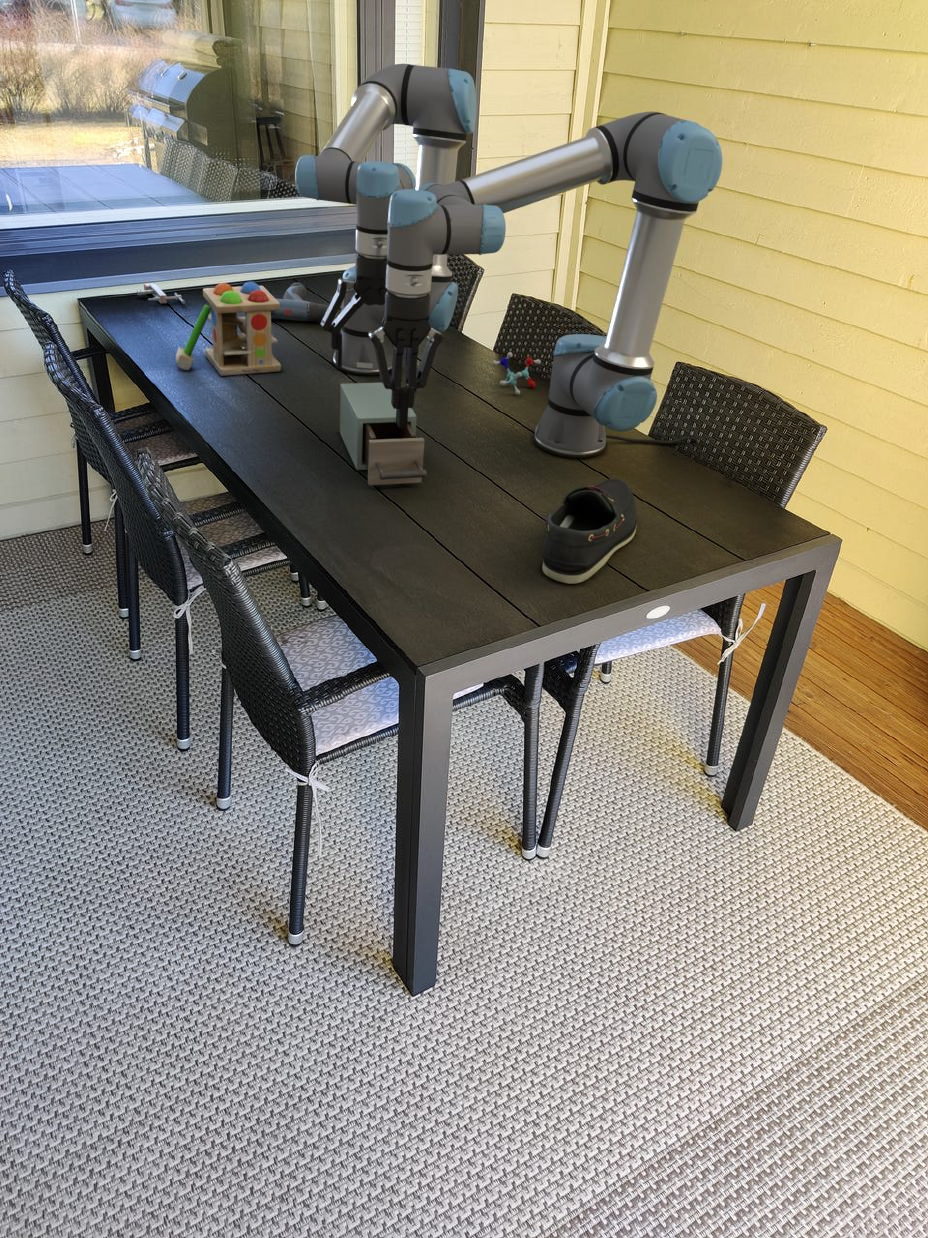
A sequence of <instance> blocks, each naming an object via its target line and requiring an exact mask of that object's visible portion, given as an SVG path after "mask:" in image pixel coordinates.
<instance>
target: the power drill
mask: <svg viewBox="0 0 928 1238" xmlns="http://www.w3.org/2000/svg"><path fill="white" fill-rule="evenodd" d="M307 295H308V290H307V287H306V285H304V284H303V283H301V282H293V283H292V284H291V285H290V286H289V287H288V288H287V289H286V291H285V292H284V294H283V297H282V298H275V299H276V300H277V301H278V302H279V303H280V310H271V319H274V320H275V319H276V320H283V321H294V322H295V321H297V322H321V321H322V319H323V317H324V315H325V313H326V311H327V309H328V307H329V305H330V304H324V303H317V302H313V301H307V300H305V299H306V297H307ZM337 317H338V313H337V314H336V316H335V318H337Z"/></svg>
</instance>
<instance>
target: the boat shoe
mask: <svg viewBox="0 0 928 1238" xmlns="http://www.w3.org/2000/svg"><path fill="white" fill-rule="evenodd" d="M544 524H545V525H544V526H545V529H546V534H545V535H546V536H545V539H544V542H543V548H542V549H543V550H542V551H541V556H542V558H543V562H542V569H541V570H542V572H543V574H544V575H545V576H547V577H548V578H550V579H552V580H555V582H560V583H563V584H567V585H568V584H569V585H571V584H572V585H573V584H580V583H583V582H585V581H587V580H589V579H590V578H591V577H592V576H593V575H595V574H596V573H597V572H598V571H599V570H600V569H601V568H602V567H603V566H605V564H606V563H607V562H608V560H609V559H610V558H611V556H612V555H613V554H614V553H615V552H616V551H618V550H619V549H620V548H622V547H623V546H625V545H626V544H628V543H629V542H630V541H632V540H633V538H634V537H635V534H636V532H637V527H638V515H637V505H636V500H635V496H634V494H633V492H632V490H631V488H630V486H629V485H628V484H627V483H626V482H625V481H623V480H622V479H619V478H608V479H605V480H602V481H600V482H597V483H596V484H594V485H582V486H579V487H576V488H575V489H572V490H570V491H569V492H568V493H567V494H566V495H565V497H563V499H562V501H561V503H560V505H558V506H557V507H556V508H555V509H554V510H553V511H552V512H551V513H550V514H549V515H548V517H547V519H546V520H545V523H544Z"/></svg>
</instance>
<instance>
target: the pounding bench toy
mask: <svg viewBox="0 0 928 1238" xmlns="http://www.w3.org/2000/svg"><path fill="white" fill-rule="evenodd" d="M202 296H203V298H204V299H205V300H206V301H207V302H208V304H209V305H208V304H204V305H203V307H202V309H201V312H200V313H199V316H198V318H197V320H196V322H195V324H194V327H193V329H192V331H191V332H190V333H191V334H190V336H189V338H188V340H187V343H186V344H185V347H184V348H182V347H180V346H179V347H178V349H177V351H176V354H175V357H174V358H175V362H176V365H177V366H178V368H179V369H182V370H185V371H189V370H190V369H191V367H192V365H193V363H194V356H193V351H194V348H195V347H196V345H197V342H198V340H199V337H200V336H201V333H202V332H203V329H204V326H205V325H206V322H207V320H209V321H210V322H211V336H212V337H211V338H212V339H211V340H212V348H205V349H204V352H205V353H204V355H205V357H206V359H208V361H209V363H210V364H211V365H212V366H213V367H214V369H215V370H216V371H217V372H218V374H219V375H220V376H222V377H223V376H234V375H235V376H236V375H246V374H247V375H250V374H262V373H275V372H281V370H282V364H281V363H280V362H279V360H278V359H277V358H276V357H275V356H274V355H273V348H272V347H273V345H272V344H276V343H278V342H279V341H278V339H277V338H276V337H275V336H274V334H272V318H271V310H280V303H279V302H278V301H277V300H276V299H277V298H276V297H274V296H273V295H272V294H271V293H270V292H269V290H268V289H267V288H266V287H264V285H259V284H257V283H256V282H255V281H247V282H245V283H244V284H243V285H242V286H232V285H230V284H229V283H226V282H221V283H218V284H217V285H216V286H215V287H204V288H203V289H202ZM238 313H244V314H245V315H244V316H238ZM238 329H239V331H240V333H239V334H238Z"/></svg>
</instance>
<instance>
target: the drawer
mask: <svg viewBox="0 0 928 1238" xmlns="http://www.w3.org/2000/svg"><path fill="white" fill-rule="evenodd" d="M424 451H425V438H424V437H417V435H416V433H414V432H413V430H412V428H411V427H410V425H409V423H408V424H407V428H399V427H398V425H397V423H396V422H384V423H363V439H362V459H363V461H364V463H365V465H366V467H367V469H368V470H367V484H368V486H382V485H400V484H418V483H419V484H420V483H422V482H423V481H422V480H423V478H427V475H428V474H427V473H428V472H427V470H426V469H424V453H425V452H424Z"/></svg>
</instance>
